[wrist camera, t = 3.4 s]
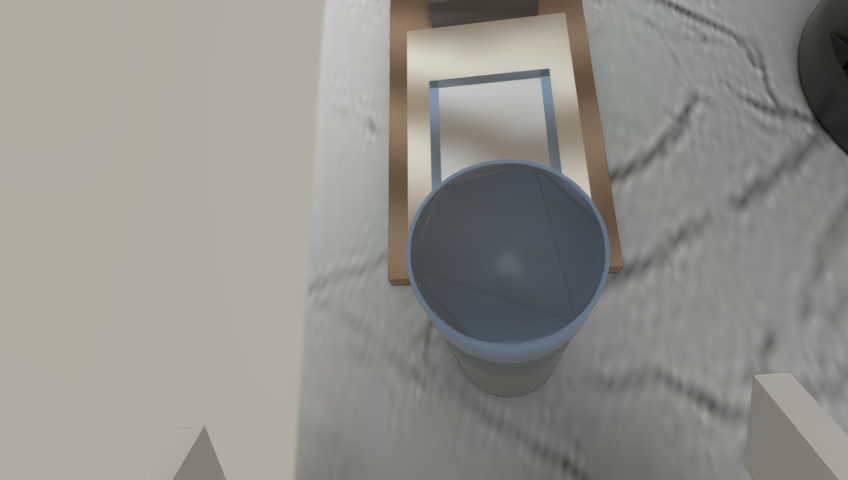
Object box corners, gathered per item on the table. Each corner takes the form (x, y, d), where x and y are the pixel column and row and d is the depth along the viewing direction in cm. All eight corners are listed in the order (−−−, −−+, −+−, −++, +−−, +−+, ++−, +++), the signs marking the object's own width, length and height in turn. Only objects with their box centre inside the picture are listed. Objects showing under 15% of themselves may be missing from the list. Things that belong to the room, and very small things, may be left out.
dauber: (493, 285, 27) (478, 128, 14) (576, 338, 25) (648, 219, 12) (438, 363, 26) (366, 275, 13) (522, 423, 24) (538, 393, 11)
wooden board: (394, -41, 35) (384, -82, 32) (567, -64, 34) (572, -110, 31) (392, 285, 27) (379, 266, 24) (619, 272, 26) (632, 251, 23)
